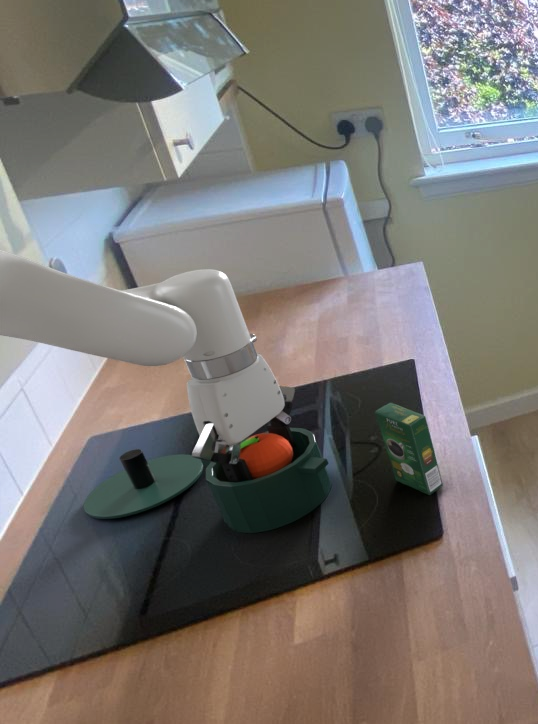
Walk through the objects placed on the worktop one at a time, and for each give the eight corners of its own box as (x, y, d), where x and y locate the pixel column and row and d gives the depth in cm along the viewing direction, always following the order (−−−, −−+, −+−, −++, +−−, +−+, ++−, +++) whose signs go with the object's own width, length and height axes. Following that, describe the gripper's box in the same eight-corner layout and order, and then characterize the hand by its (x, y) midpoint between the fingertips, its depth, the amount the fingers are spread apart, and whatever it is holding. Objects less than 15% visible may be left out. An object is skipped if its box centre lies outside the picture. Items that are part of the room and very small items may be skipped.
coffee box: (446, 485, 112) (426, 413, 106) (430, 497, 109) (408, 424, 104) (411, 470, 115) (390, 400, 110) (395, 481, 113) (372, 410, 107)
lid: (143, 526, 105) (125, 489, 103) (60, 518, 107) (39, 482, 105) (227, 462, 118) (212, 429, 115) (151, 456, 120) (135, 423, 117)
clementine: (244, 503, 102) (226, 462, 99) (227, 483, 106) (210, 443, 103) (306, 473, 108) (292, 433, 105) (288, 455, 112) (274, 416, 109)
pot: (302, 538, 102) (283, 490, 99) (186, 527, 105) (164, 480, 101) (366, 476, 114) (351, 431, 111) (260, 467, 117) (243, 424, 113)
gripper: (250, 327, 108) (287, 427, 115) (137, 392, 92) (188, 503, 99) (296, 330, 107) (330, 430, 114) (189, 396, 91) (237, 508, 98)
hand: (264, 463), depth 106 cm, fingers closed on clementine, 7 cm apart
